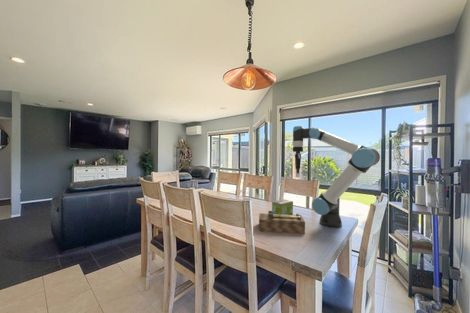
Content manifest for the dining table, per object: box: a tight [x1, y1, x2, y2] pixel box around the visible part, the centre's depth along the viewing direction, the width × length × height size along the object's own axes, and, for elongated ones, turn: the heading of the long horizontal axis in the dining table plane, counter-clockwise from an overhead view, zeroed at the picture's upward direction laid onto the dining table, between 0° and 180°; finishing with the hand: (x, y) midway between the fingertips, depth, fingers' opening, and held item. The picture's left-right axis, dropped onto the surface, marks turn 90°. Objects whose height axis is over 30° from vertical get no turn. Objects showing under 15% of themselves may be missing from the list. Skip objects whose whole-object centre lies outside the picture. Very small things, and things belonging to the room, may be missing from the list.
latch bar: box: [273, 214, 300, 219], centre depth 145 cm, size 21×4×2 cm, turn 83°
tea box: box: [271, 198, 294, 215], centre depth 165 cm, size 15×10×15 cm
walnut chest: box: [258, 210, 306, 234], centre depth 146 cm, size 30×14×11 cm, turn 83°
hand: (297, 177), depth 160 cm, fingers closed
